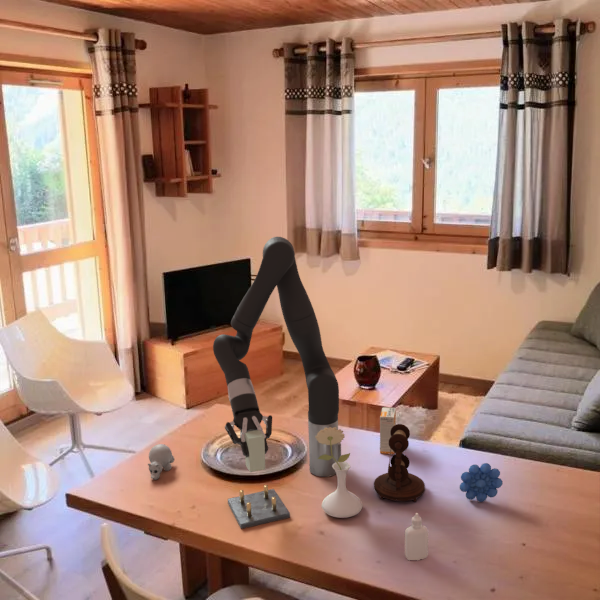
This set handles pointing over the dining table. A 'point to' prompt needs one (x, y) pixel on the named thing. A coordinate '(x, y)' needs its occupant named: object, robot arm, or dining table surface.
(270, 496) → the grey gold peg board
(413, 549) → the eye dropper bottle
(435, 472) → the dining table surface
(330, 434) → the flower in vase
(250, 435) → the block
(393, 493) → the wooden spool stand
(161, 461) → the round bodied animal figurine
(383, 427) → the supplement box
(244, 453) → the robot arm
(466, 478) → the blue ball cluster
